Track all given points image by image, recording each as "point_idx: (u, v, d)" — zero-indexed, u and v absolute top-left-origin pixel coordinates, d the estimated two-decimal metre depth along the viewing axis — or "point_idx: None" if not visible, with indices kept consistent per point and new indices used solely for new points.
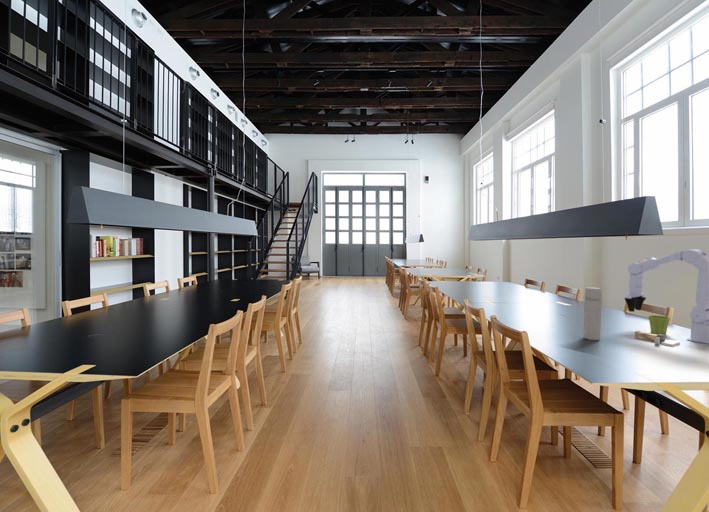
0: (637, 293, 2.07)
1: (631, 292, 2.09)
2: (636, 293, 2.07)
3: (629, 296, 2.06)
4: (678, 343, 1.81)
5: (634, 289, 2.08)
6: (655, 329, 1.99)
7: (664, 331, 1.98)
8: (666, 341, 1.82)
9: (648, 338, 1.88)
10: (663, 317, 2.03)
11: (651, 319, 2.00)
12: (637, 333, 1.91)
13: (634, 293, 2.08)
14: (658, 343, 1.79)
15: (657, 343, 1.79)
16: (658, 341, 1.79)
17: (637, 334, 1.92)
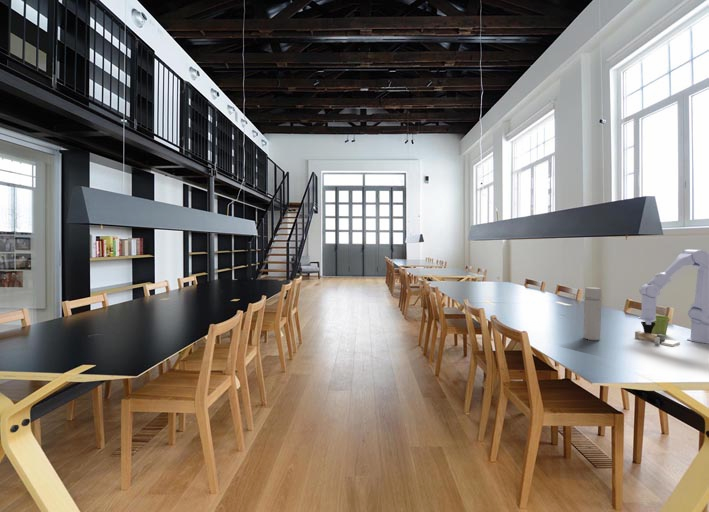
0: (653, 318, 1.88)
1: (646, 317, 1.89)
2: (652, 318, 1.88)
3: (649, 322, 1.84)
4: (678, 343, 1.81)
5: (650, 313, 1.88)
6: (655, 329, 1.99)
7: (664, 331, 1.98)
8: (666, 341, 1.82)
9: (648, 338, 1.88)
10: (663, 317, 2.03)
11: None
12: (637, 333, 1.91)
13: (650, 318, 1.88)
14: (658, 343, 1.79)
15: (657, 343, 1.79)
16: (658, 341, 1.79)
17: (637, 334, 1.92)
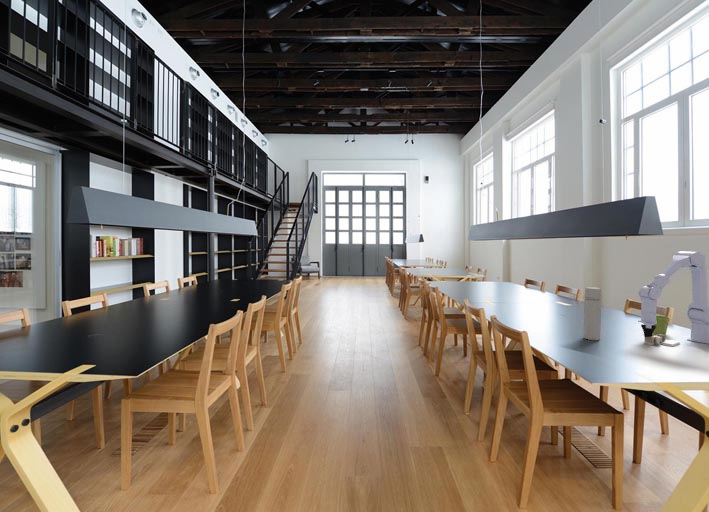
0: (653, 321, 1.81)
1: (646, 320, 1.82)
2: (652, 321, 1.81)
3: (649, 326, 1.78)
4: (678, 343, 1.81)
5: (650, 316, 1.82)
6: (655, 329, 1.99)
7: (664, 331, 1.98)
8: (666, 341, 1.82)
9: None
10: (663, 317, 2.03)
11: None
12: (652, 339, 1.80)
13: (650, 321, 1.82)
14: (658, 343, 1.79)
15: (657, 343, 1.79)
16: (658, 341, 1.79)
17: (651, 340, 1.80)
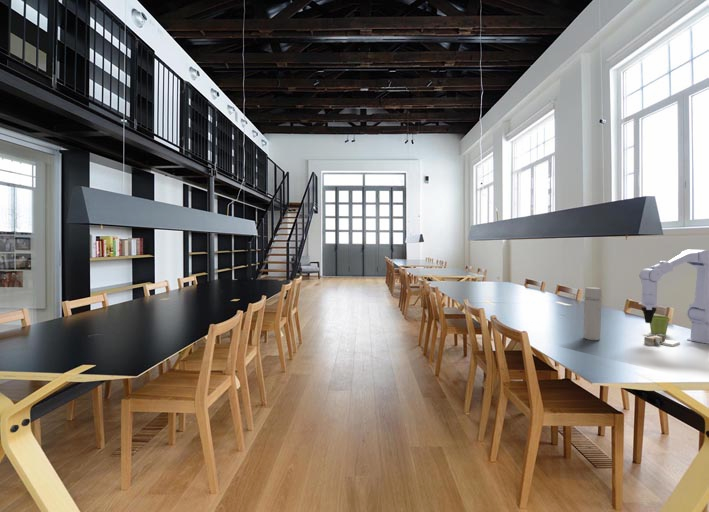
0: (654, 303, 1.80)
1: (647, 302, 1.82)
2: (653, 303, 1.80)
3: (649, 307, 1.77)
4: (678, 343, 1.81)
5: (650, 298, 1.81)
6: (655, 329, 1.99)
7: (664, 331, 1.98)
8: (666, 341, 1.82)
9: None
10: (663, 317, 2.03)
11: None
12: (652, 339, 1.80)
13: (651, 303, 1.81)
14: (658, 343, 1.79)
15: (657, 343, 1.79)
16: (658, 341, 1.79)
17: (651, 340, 1.80)
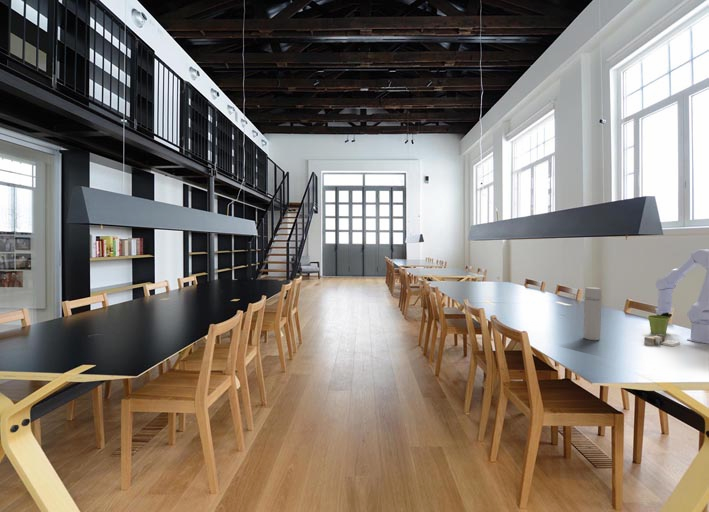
0: (666, 309, 2.02)
1: (660, 308, 2.03)
2: (665, 309, 2.02)
3: (658, 312, 2.00)
4: (678, 343, 1.81)
5: (663, 305, 2.02)
6: (655, 329, 1.99)
7: (664, 331, 1.98)
8: (666, 341, 1.82)
9: None
10: (663, 317, 2.03)
11: (651, 319, 2.00)
12: (652, 339, 1.80)
13: (663, 309, 2.02)
14: (658, 343, 1.79)
15: (657, 343, 1.79)
16: (658, 341, 1.79)
17: (651, 340, 1.80)
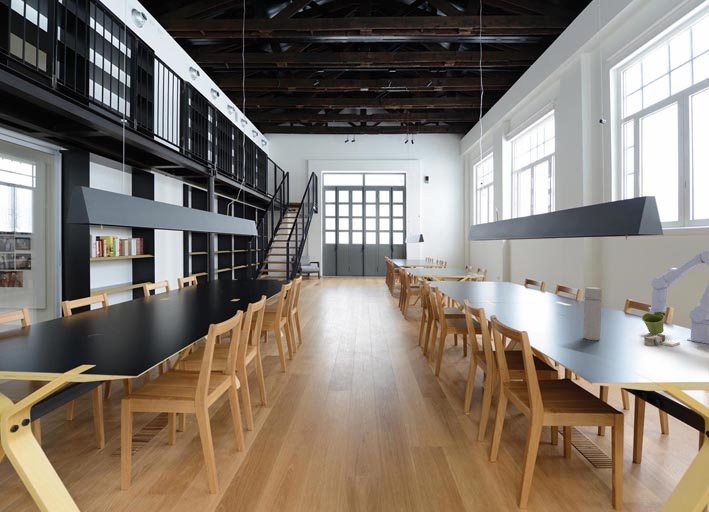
0: (660, 309, 1.99)
1: (653, 307, 2.01)
2: (659, 309, 1.99)
3: (651, 312, 1.98)
4: (678, 343, 1.81)
5: (657, 304, 2.00)
6: (653, 330, 1.99)
7: (662, 330, 1.97)
8: (666, 341, 1.82)
9: None
10: (656, 313, 2.01)
11: (646, 323, 1.98)
12: (652, 339, 1.80)
13: (657, 309, 2.00)
14: (658, 343, 1.79)
15: (657, 343, 1.79)
16: (658, 341, 1.79)
17: (651, 340, 1.80)
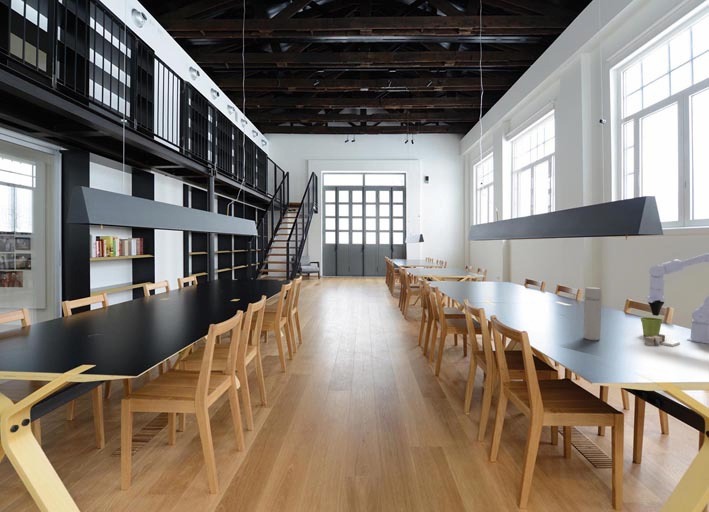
0: (658, 297, 1.96)
1: (652, 296, 1.98)
2: (657, 297, 1.96)
3: (650, 300, 1.94)
4: (678, 343, 1.81)
5: (655, 292, 1.96)
6: (648, 331, 1.95)
7: (657, 333, 1.93)
8: (666, 341, 1.82)
9: None
10: (655, 319, 1.98)
11: (644, 321, 1.96)
12: (652, 339, 1.80)
13: (655, 297, 1.96)
14: (658, 343, 1.79)
15: (657, 343, 1.79)
16: (658, 341, 1.79)
17: (651, 340, 1.80)
